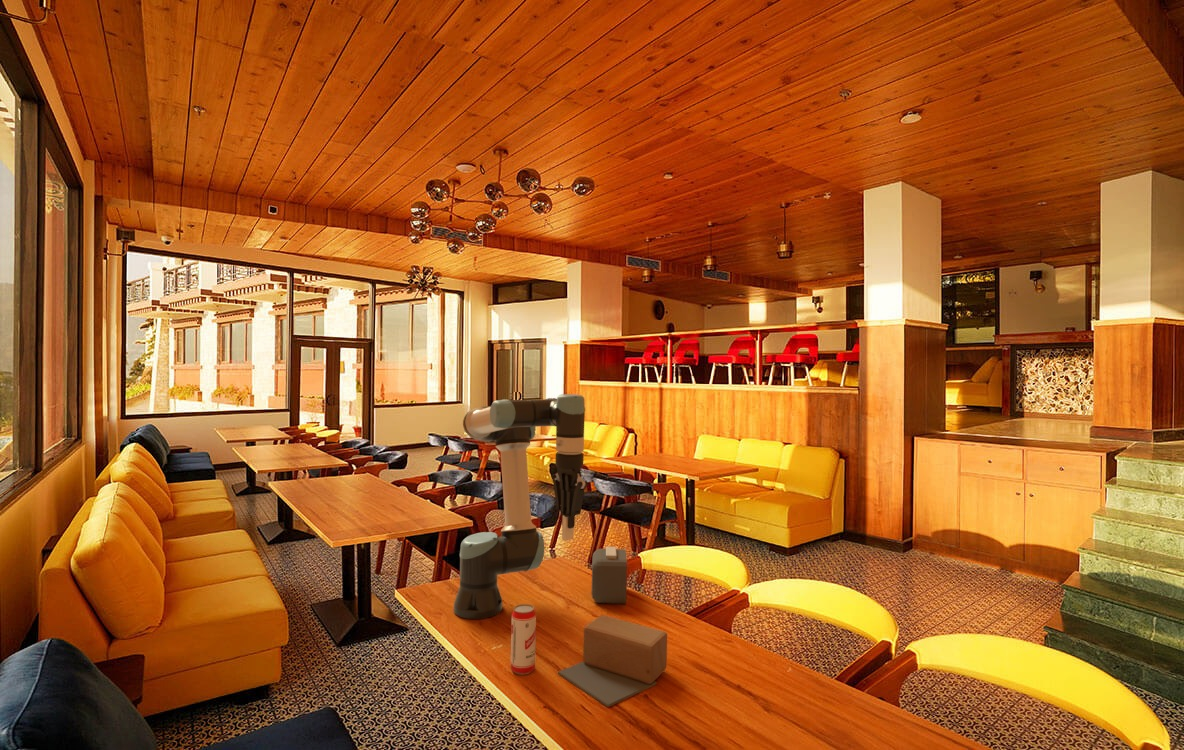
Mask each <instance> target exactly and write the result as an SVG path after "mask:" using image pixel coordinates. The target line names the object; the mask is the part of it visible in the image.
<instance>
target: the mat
mask: <svg viewBox="0 0 1184 750" xmlns="http://www.w3.org/2000/svg"><path fill="white" fill-rule="evenodd" d="M557 675H559V676H560V677H562V678H564V680H566V681H568V682H570V683H571V684H573V685H574V686H575V687H577V688H578V689H580V690H581V691H582V692H584V693H586V694H588V695H589V696H591V698H594V699H595V700H596V701H598V702H599V703H601V704H602V705H604V706H605V707H606V708H610V707H611V706H614V705H616V704H617V703H618V704H619V703H620V702H622V701H624V700H627V699H629V698H631V697H632V696H635V695H637V694H639V693H641V692H644V691H646V690H648V689H650V688H651V687H654V686H656V685H657V682H656V680H655V681H654V682H653V683H651V684H647V683H644V682H641V681H638V680H635V679H632V678H628V677H625V676H622V675H619V674H616V673H613V672H610V671H607V670H604V669H600V668H597V667H594V666H591V665H588V664H585V663H584V661H583V660H582V661H581V662H579V663H575V664H572V665H571V666H569V667H566V668H564V669H563V668H562V669H561V670H559V671H557Z"/></svg>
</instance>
